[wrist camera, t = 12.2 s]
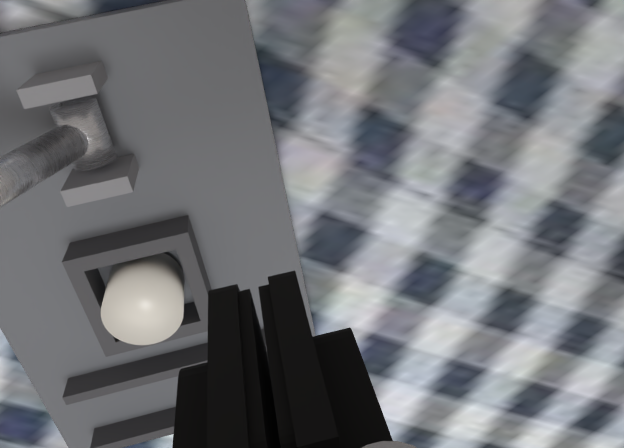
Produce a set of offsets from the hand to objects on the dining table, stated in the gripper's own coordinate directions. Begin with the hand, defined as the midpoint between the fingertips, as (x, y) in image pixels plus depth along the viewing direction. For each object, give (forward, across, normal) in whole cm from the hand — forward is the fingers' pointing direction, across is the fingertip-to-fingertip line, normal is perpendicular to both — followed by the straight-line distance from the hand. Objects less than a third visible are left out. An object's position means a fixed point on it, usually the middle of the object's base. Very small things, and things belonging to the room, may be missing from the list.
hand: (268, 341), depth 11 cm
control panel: (+20, +7, +8) cm, 23 cm away
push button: (+18, +7, +9) cm, 21 cm away
